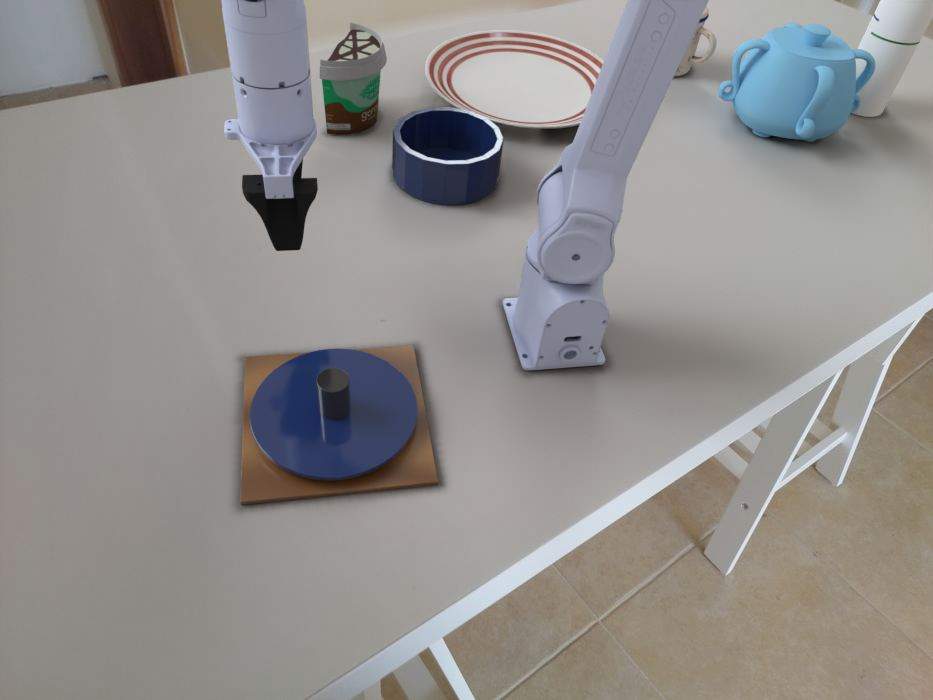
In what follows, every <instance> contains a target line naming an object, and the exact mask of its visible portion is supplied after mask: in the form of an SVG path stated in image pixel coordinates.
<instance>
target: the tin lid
mask: <svg viewBox="0 0 933 700" xmlns="http://www.w3.org/2000/svg"><path fill="white" fill-rule="evenodd" d="M305 353H306V354H303V355H300V356H297V357H295V358H293V359H291V360H289V361H287V362H285V363H283V364H282V365H280V366H279V367H278V368H276V369H275V370H274V371H272V372H271V373H270V374H269V375H268V376H267V377H266V378H265V379H264V381H263V382H262V383H261V384H260V386H259V388H258V389H257V391H256V393H255V395H254V397H253V400H252V403H251V407H250V426H251V430H252V434H253V437H254V439H255V442H256V444H257V445H258V447H259V448H260V450H261V451H262V453H263V454H264V455H265V456H266V457H267V458H268V459H269V460H270V461H272V462H273V463H274V464H275V465H277V466H279V467H280V468H282V469H284V470H285V471H288V472H290V473H292V474H295V475H298V476H301V477H305V478H309V479H315V480H329V481H330V480H344V479H350V478H355V477H358V476H362V475H365V474H367V473H370V472H372V471H375V470H377V469H378V468H380V467H382V466H384V465H385V464H387V463H388V462H390V461H391V460H392V459H394V458H395V457H396V456H397V455H398V454H399V453H400V452H401V451H402V450H403V448H404V447H405V446H406V445H407V443H408V442H409V440H410V438H411V437H412V434H413V432H414V429H415V426H416V422H417V411H418V408H417V400H416V396H415V393H414V390H413V388H412V386H411V384H410V383H409V381H408V380H407V378H406V377H405V376H404V375H403V374H402V373H401V371H399V370H398V369H397V368H396V367H395V366H393V365H392V364H390V363H389V362H387V361H386V360H384V359H382V358H380V357H378V356H375V355H372V354H370V353H366V352H363V351H358V350H355V349H351V348H326V349H319V350H313V351H309V352H305Z"/></svg>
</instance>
